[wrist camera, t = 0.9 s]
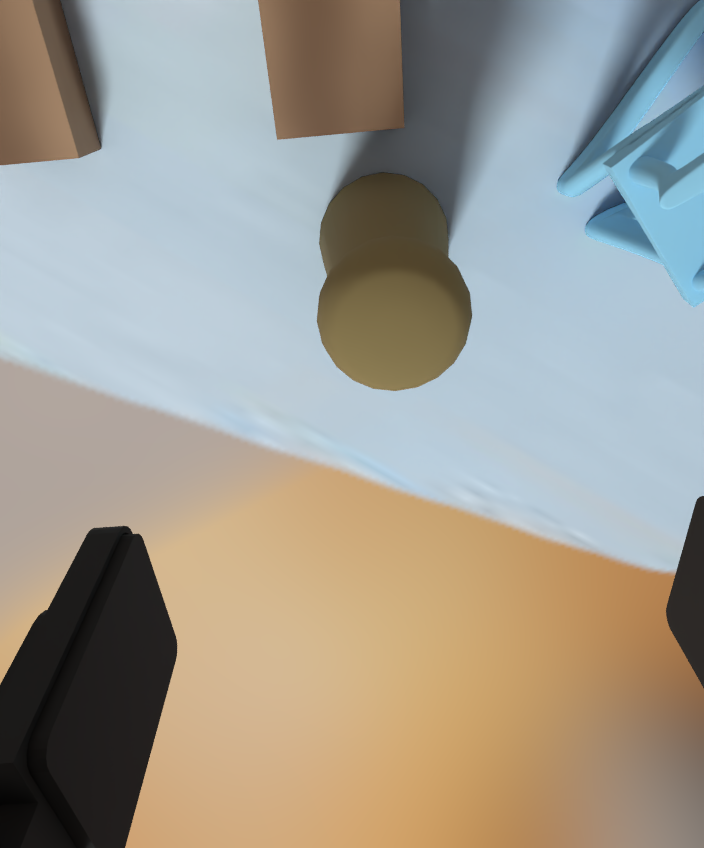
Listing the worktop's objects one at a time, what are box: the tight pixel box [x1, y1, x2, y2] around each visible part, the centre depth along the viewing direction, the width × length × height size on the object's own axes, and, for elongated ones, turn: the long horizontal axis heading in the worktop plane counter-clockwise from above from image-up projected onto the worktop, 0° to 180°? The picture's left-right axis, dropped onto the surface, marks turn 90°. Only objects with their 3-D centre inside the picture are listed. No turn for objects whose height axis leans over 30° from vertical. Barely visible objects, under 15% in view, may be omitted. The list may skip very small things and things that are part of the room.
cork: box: [317, 172, 472, 391], centre depth 24 cm, size 6×6×11 cm
